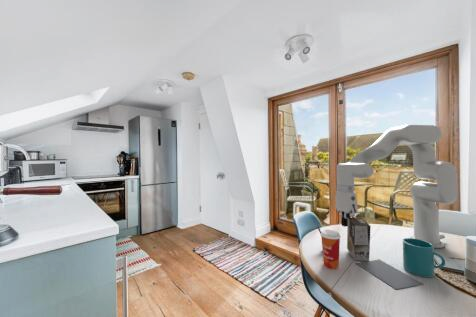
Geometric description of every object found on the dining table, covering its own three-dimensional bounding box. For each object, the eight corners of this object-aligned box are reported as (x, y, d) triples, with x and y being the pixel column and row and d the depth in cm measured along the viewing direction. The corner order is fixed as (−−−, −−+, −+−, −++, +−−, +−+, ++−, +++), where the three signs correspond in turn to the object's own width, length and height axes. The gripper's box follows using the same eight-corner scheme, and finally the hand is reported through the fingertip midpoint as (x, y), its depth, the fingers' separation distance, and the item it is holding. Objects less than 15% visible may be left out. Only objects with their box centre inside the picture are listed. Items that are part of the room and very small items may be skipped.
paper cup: (317, 261, 86) (317, 229, 86) (334, 260, 87) (333, 228, 87) (327, 271, 78) (326, 236, 78) (345, 270, 79) (344, 235, 79)
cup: (447, 284, 69) (447, 252, 69) (403, 272, 77) (402, 243, 77) (443, 272, 76) (443, 243, 76) (403, 262, 83) (402, 236, 83)
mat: (379, 260, 86) (379, 259, 86) (423, 284, 69) (423, 283, 69) (356, 263, 83) (356, 263, 83) (396, 289, 67) (396, 288, 67)
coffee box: (370, 261, 85) (371, 226, 83) (353, 260, 86) (354, 225, 84) (361, 249, 94) (362, 217, 92) (346, 248, 95) (347, 216, 93)
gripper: (364, 190, 89) (364, 230, 89) (341, 186, 104) (341, 220, 104) (350, 191, 88) (350, 232, 88) (328, 186, 103) (328, 221, 103)
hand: (345, 225), depth 96 cm, fingers closed
